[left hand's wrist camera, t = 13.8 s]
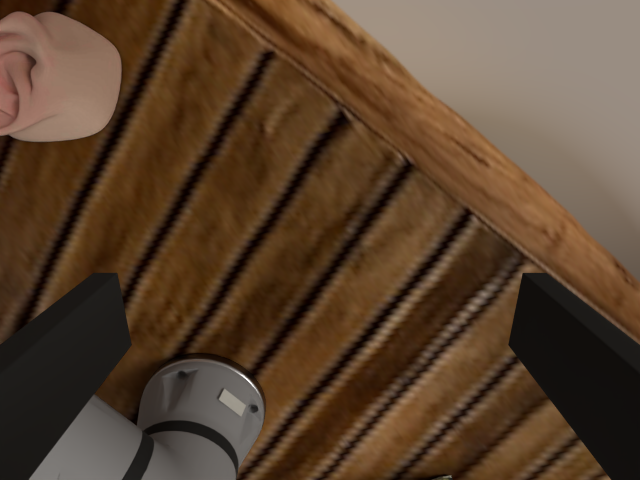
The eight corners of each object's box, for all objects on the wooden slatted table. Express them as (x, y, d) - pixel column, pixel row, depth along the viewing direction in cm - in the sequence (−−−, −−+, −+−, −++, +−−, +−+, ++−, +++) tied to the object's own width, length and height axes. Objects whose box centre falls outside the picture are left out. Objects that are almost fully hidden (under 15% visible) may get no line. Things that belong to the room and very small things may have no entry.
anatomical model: (93, 8, 31) (109, 154, 35) (118, 18, 34) (129, 149, 38) (-78, -7, 30) (-42, 142, 34) (-34, 4, 34) (-7, 138, 38)
